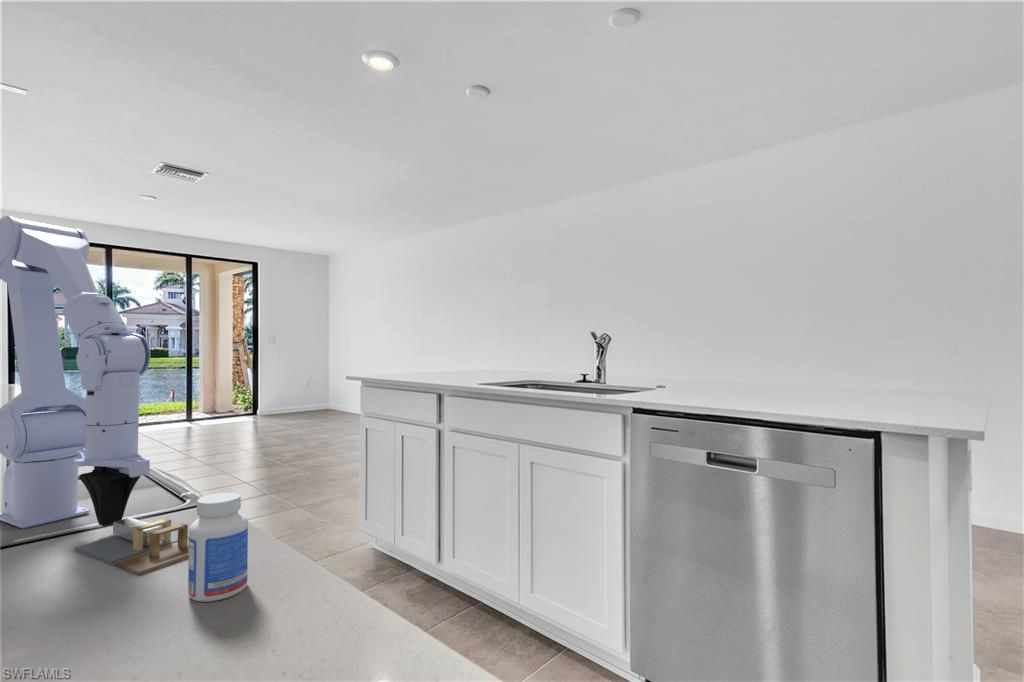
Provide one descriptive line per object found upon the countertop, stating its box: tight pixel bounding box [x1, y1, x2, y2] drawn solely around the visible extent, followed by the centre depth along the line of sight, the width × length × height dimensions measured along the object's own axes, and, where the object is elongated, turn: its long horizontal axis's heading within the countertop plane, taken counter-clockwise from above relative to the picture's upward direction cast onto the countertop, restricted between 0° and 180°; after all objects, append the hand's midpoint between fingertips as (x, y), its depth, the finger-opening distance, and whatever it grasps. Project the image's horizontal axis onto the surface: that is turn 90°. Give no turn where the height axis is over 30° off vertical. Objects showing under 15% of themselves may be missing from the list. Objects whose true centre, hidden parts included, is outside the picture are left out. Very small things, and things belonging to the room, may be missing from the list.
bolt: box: [112, 517, 164, 546], centre depth 66 cm, size 8×2×2 cm, turn 63°
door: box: [73, 518, 189, 565], centre depth 66 cm, size 9×10×3 cm
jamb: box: [112, 522, 189, 576], centre depth 63 cm, size 5×10×3 cm, turn 153°
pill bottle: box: [187, 492, 249, 603], centre depth 54 cm, size 6×5×10 cm
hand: (110, 523), depth 69 cm, fingers closed
